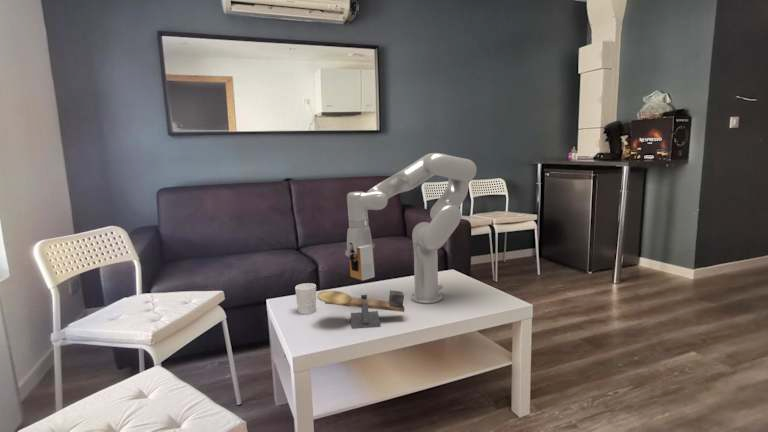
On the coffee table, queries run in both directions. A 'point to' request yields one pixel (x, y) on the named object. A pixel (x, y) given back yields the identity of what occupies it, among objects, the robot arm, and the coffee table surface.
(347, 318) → the coffee table surface
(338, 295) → the beam
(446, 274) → the coffee table surface
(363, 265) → the small box
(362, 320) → the beam stand
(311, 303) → the white cup
